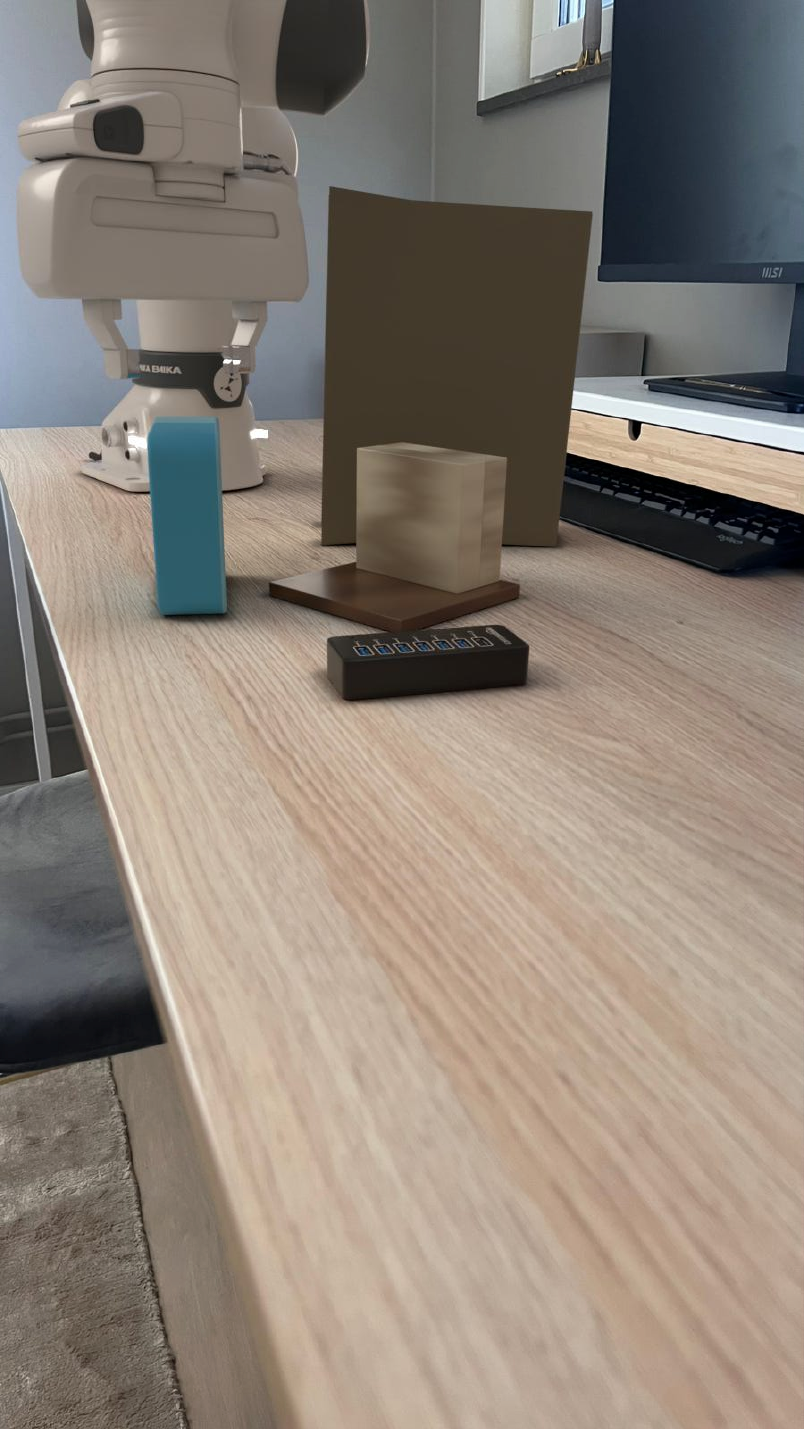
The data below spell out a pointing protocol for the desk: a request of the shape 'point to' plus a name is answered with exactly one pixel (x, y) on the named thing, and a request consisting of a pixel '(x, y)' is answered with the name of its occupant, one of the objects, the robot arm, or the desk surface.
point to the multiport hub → (426, 661)
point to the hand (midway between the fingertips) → (184, 376)
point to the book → (452, 344)
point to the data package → (187, 515)
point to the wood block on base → (416, 541)
